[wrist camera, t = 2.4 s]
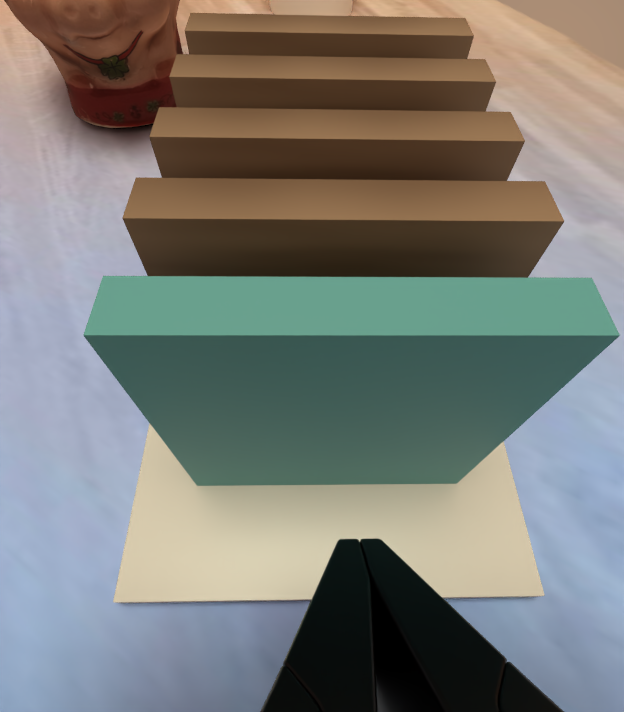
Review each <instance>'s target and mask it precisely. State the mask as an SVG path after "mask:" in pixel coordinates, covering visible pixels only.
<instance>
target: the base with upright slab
mask: <svg viewBox="0 0 624 712" xmlns="http://www.w3.org/2000/svg"><path fill="white" fill-rule="evenodd" d="M352 4H353V0H270V9H271V12H272V13H273V14H274V15H322V16H349V15H350V13H351V12H352Z"/></svg>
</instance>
